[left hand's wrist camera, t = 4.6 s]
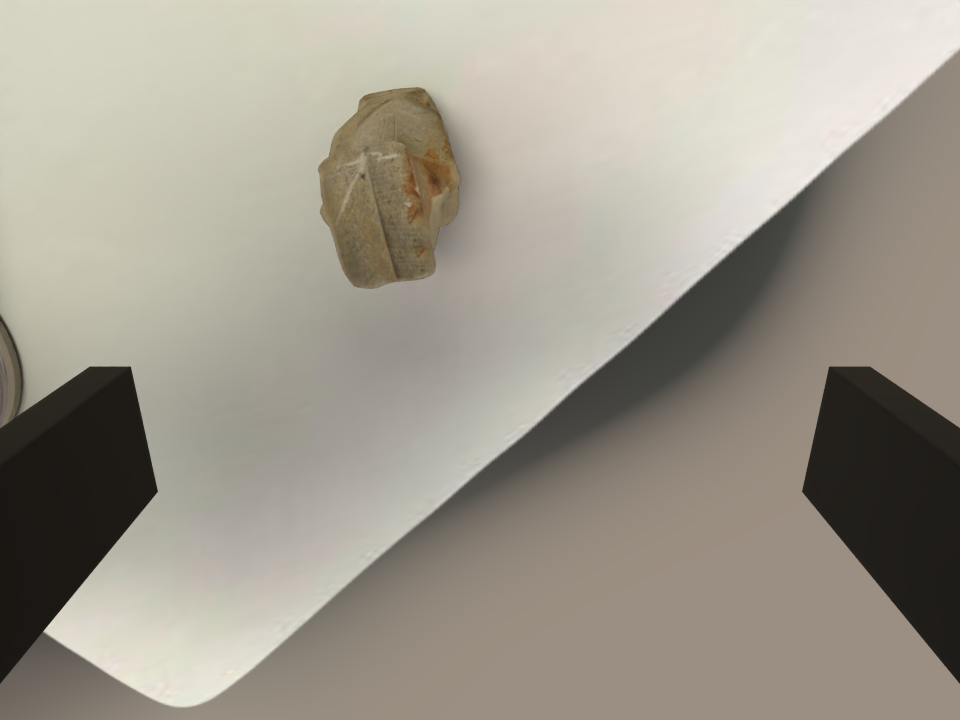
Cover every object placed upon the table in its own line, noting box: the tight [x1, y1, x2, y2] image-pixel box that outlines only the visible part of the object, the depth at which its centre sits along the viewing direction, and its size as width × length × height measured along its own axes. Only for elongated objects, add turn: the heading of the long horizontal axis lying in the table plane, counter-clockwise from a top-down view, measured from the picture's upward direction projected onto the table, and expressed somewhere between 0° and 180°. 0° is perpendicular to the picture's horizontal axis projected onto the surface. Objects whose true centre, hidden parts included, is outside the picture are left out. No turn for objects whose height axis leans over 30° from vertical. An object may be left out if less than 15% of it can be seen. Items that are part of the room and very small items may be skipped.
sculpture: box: [318, 87, 461, 289], centre depth 29 cm, size 6×7×15 cm
